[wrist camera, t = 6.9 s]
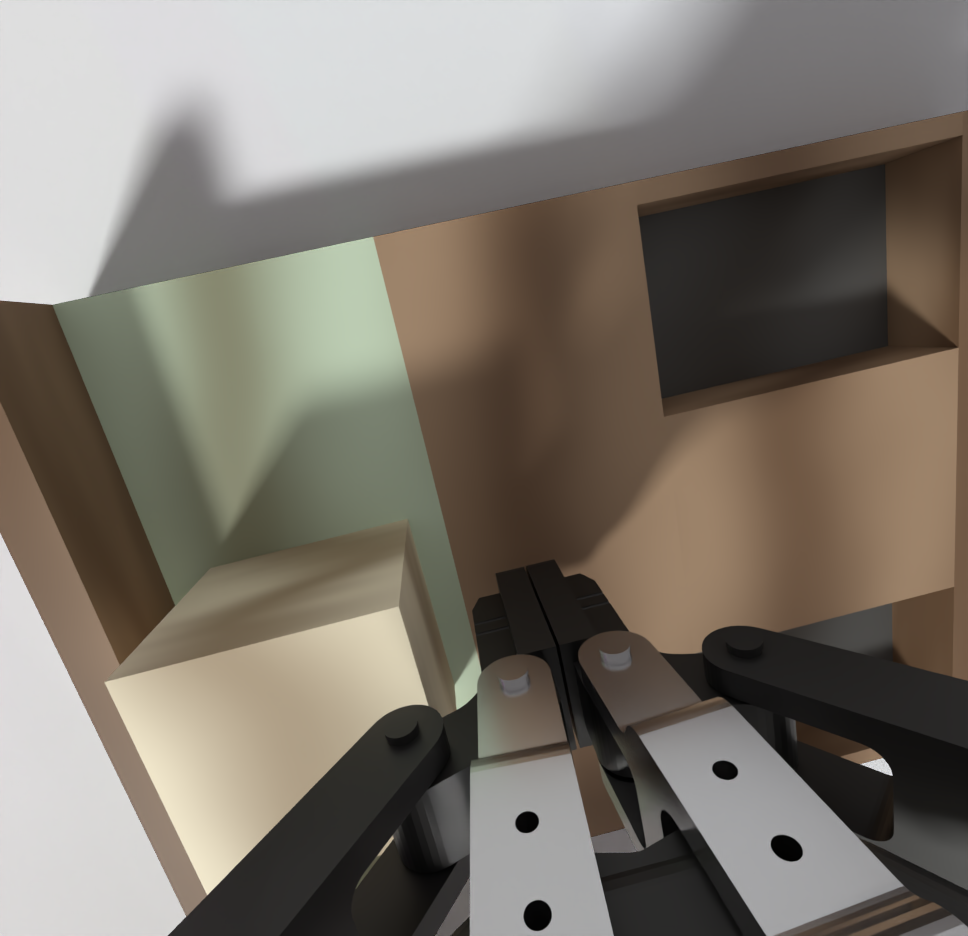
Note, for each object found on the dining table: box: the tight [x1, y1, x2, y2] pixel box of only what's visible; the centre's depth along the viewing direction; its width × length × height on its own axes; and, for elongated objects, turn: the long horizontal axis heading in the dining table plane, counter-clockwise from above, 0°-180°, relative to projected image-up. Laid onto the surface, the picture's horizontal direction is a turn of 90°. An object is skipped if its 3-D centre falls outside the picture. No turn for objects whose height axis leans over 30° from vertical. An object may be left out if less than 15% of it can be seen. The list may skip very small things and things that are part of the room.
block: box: [105, 519, 457, 895], centre depth 12 cm, size 5×5×4 cm
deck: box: [0, 111, 968, 917], centre depth 14 cm, size 24×18×5 cm
